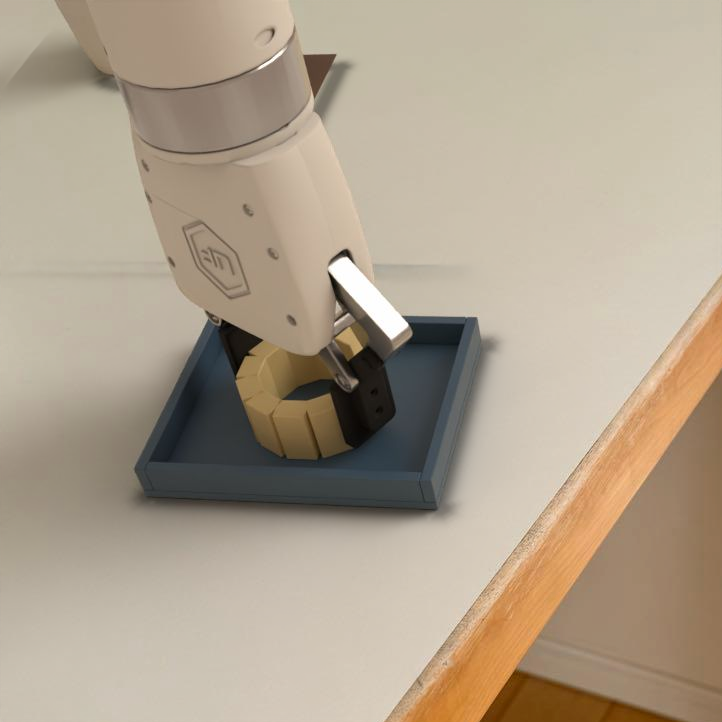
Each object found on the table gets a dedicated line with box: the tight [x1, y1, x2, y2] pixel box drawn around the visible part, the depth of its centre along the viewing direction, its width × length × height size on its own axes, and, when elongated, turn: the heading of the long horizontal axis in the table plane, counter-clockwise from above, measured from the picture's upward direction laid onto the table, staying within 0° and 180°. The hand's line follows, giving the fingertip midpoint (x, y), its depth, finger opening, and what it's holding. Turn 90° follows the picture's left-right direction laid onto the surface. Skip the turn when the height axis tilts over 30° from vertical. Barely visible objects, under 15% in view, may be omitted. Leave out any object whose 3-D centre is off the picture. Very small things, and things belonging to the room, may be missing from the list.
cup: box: [54, 0, 114, 76], centre depth 90 cm, size 8×8×10 cm
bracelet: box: [235, 327, 363, 460], centre depth 64 cm, size 7×7×3 cm
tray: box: [133, 315, 483, 510], centre depth 65 cm, size 15×12×2 cm
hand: (316, 399), depth 65 cm, fingers closed on bracelet, 7 cm apart
